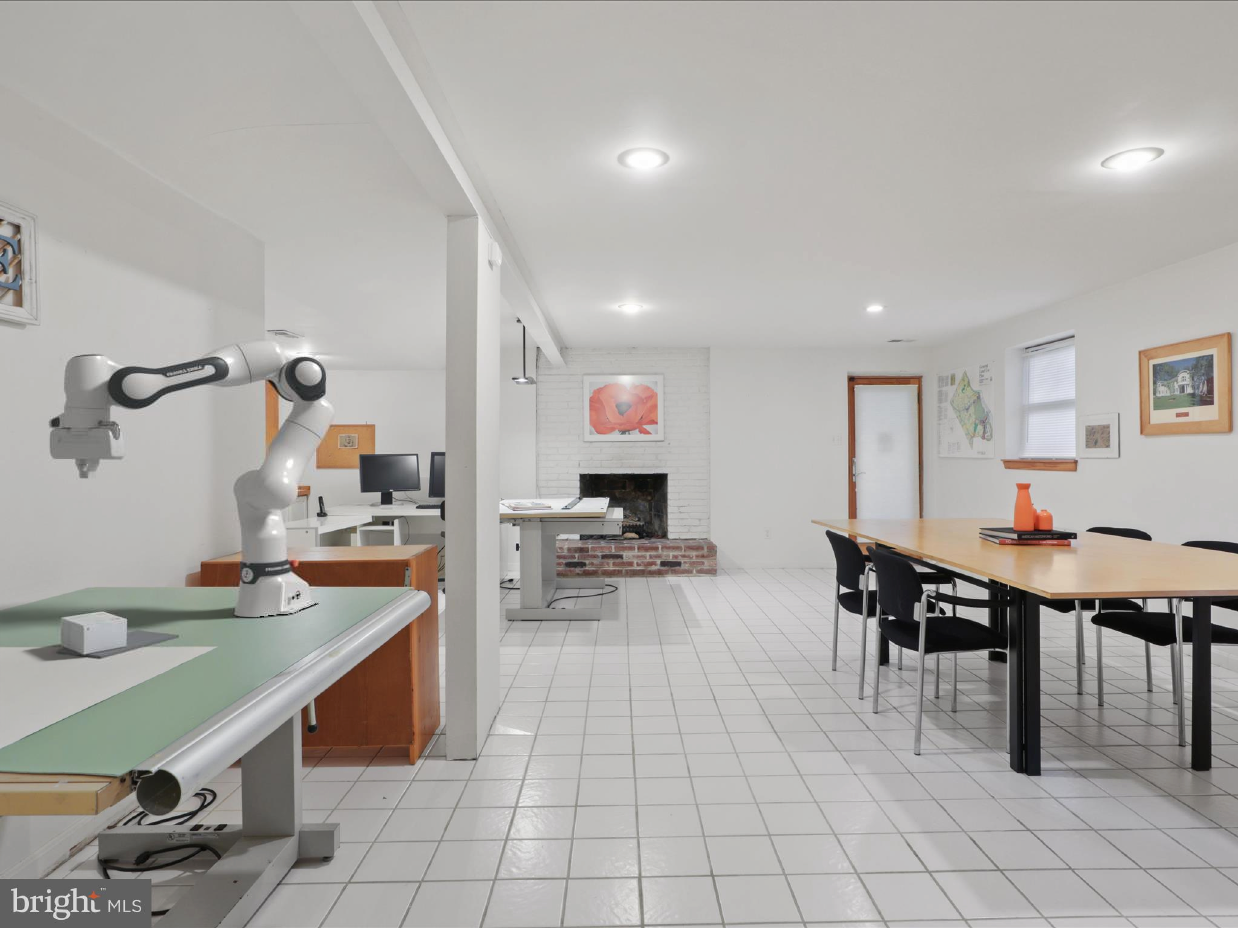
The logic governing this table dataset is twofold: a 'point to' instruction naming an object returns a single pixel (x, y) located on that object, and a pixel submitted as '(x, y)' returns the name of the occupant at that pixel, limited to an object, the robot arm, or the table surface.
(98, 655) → the mat
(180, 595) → the table surface
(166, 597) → the table surface
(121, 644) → the small box
